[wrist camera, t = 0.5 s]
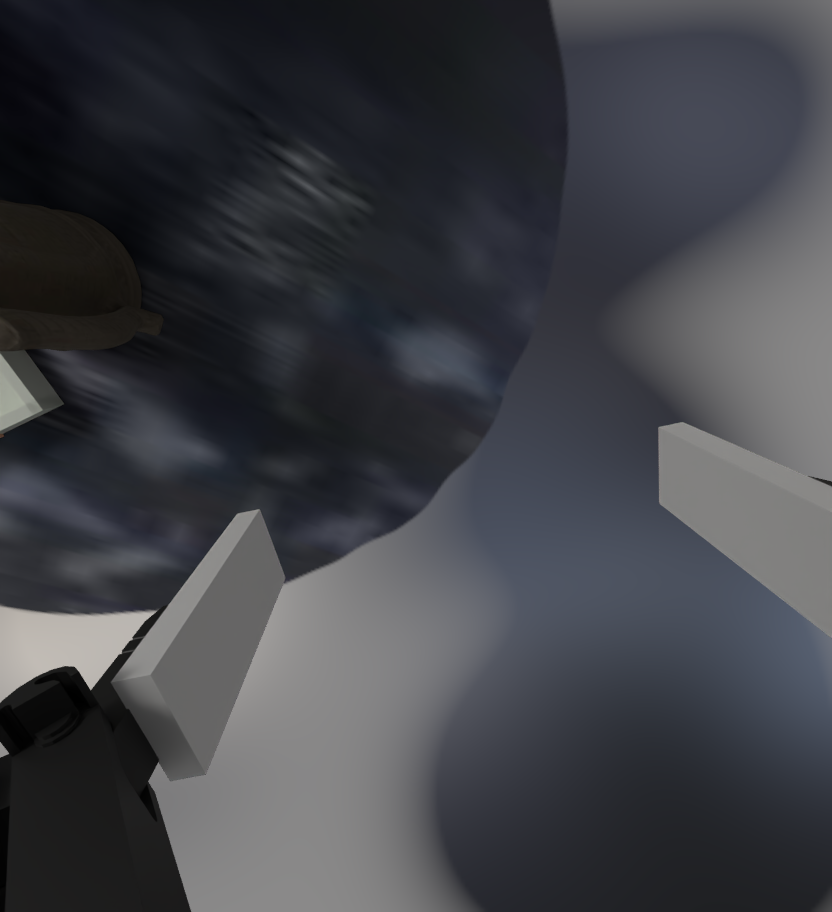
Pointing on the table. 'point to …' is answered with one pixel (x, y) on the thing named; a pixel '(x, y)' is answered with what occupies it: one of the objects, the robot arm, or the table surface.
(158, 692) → the robot arm
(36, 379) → the tray
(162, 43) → the table surface
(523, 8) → the table surface
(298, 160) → the table surface
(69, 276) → the beer stein
